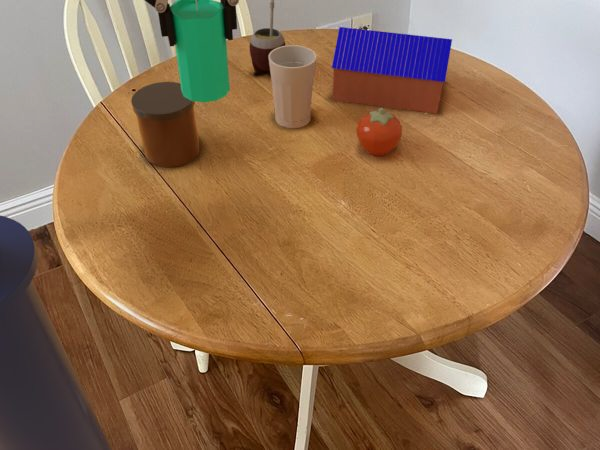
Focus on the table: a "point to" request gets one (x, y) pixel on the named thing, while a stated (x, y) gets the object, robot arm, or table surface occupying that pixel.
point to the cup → (292, 84)
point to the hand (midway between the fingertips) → (199, 36)
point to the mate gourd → (264, 46)
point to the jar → (166, 124)
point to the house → (390, 69)
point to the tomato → (379, 132)
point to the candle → (201, 49)
